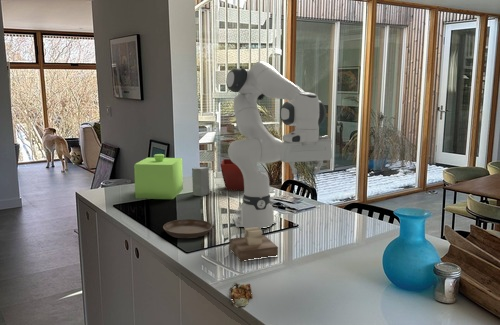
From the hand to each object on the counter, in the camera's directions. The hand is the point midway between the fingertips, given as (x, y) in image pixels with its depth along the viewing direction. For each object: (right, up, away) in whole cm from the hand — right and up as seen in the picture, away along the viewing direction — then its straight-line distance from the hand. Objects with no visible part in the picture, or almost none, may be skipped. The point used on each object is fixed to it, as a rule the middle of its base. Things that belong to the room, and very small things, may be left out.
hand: (305, 172), depth 171 cm
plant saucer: (-47, -26, +22) cm, 58 cm away
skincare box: (-49, -15, +90) cm, 104 cm away
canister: (-73, -15, +92) cm, 119 cm away
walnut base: (-20, -30, -2) cm, 36 cm away
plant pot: (-29, -12, +107) cm, 111 cm away
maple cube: (-20, -26, -3) cm, 33 cm away
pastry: (-24, -36, -38) cm, 57 cm away
